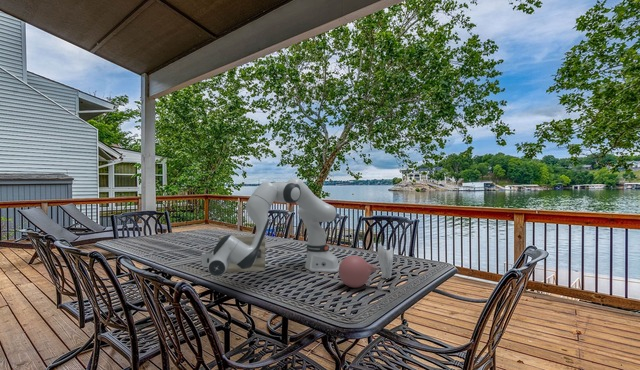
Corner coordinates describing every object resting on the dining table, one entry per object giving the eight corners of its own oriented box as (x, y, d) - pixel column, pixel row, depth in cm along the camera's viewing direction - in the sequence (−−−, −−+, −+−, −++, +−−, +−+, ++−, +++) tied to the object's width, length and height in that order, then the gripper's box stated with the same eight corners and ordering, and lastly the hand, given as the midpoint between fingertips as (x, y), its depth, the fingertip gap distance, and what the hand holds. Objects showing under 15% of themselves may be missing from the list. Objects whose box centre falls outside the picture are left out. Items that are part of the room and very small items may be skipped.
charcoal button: (252, 257, 177) (252, 249, 177) (260, 256, 178) (260, 249, 178) (252, 258, 173) (252, 251, 173) (260, 258, 174) (260, 250, 174)
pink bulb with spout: (380, 293, 141) (380, 260, 141) (337, 291, 144) (337, 258, 144) (378, 283, 156) (379, 253, 156) (339, 281, 159) (340, 251, 159)
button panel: (221, 266, 185) (221, 234, 185) (264, 264, 190) (264, 232, 190) (218, 272, 172) (218, 237, 172) (265, 270, 177) (265, 236, 177)
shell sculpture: (395, 276, 167) (395, 244, 167) (392, 281, 159) (392, 246, 159) (380, 274, 170) (380, 242, 170) (376, 279, 163) (376, 245, 163)
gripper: (243, 252, 147) (245, 246, 161) (199, 253, 143) (204, 247, 157) (243, 265, 147) (244, 258, 161) (198, 267, 143) (204, 260, 156)
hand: (224, 253), depth 159 cm, fingers closed
